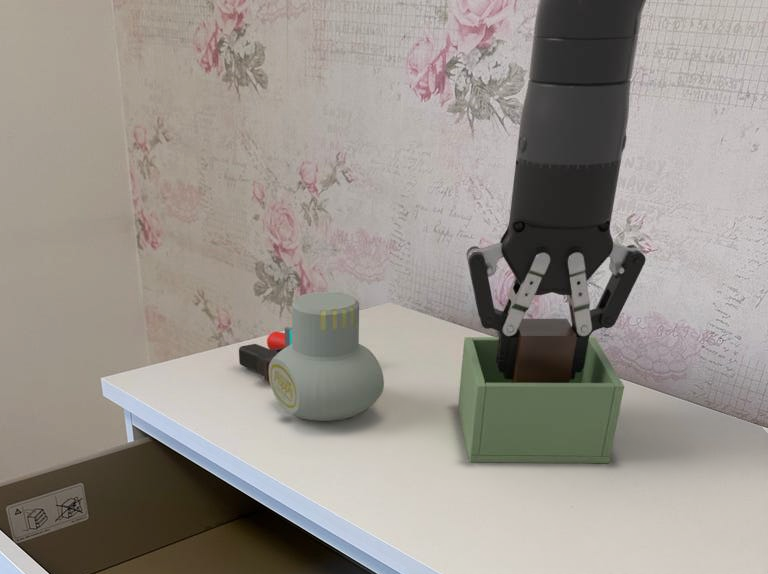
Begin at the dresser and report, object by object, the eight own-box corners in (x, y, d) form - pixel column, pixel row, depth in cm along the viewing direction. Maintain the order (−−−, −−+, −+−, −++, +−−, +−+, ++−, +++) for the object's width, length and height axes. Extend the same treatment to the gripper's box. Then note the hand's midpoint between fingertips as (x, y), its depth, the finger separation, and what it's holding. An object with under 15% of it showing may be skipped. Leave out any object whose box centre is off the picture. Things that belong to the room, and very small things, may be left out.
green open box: (582, 408, 87) (595, 337, 83) (609, 463, 78) (624, 386, 74) (457, 407, 87) (464, 337, 84) (469, 462, 78) (477, 385, 74)
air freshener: (392, 424, 85) (397, 311, 79) (307, 440, 82) (307, 325, 76) (340, 382, 93) (341, 278, 87) (262, 396, 90) (258, 290, 85)
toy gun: (373, 368, 96) (374, 320, 93) (265, 389, 92) (264, 340, 89) (329, 340, 103) (329, 294, 100) (227, 359, 99) (224, 312, 96)
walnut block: (559, 369, 81) (567, 318, 79) (568, 389, 78) (577, 336, 75) (507, 369, 82) (513, 318, 79) (514, 389, 78) (521, 336, 75)
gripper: (655, 140, 72) (614, 360, 82) (466, 143, 73) (448, 360, 83) (682, 159, 66) (634, 394, 76) (476, 161, 67) (455, 393, 77)
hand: (537, 375), depth 79 cm, fingers closed on walnut block, 4 cm apart
